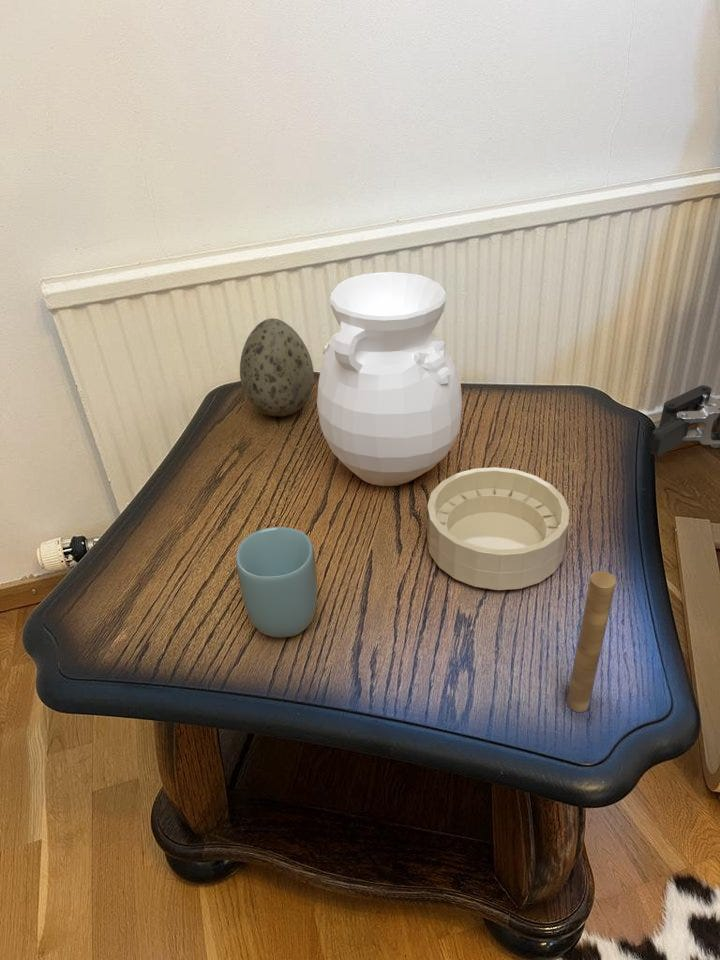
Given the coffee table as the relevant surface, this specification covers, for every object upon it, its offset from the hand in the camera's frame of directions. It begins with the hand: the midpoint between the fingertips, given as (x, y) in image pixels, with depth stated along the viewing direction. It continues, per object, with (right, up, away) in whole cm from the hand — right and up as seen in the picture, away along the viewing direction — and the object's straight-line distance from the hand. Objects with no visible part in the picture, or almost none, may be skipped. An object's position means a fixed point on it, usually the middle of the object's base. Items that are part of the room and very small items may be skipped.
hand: (699, 468), depth 63 cm
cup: (-36, -16, +18) cm, 43 cm away
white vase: (-24, +1, +40) cm, 47 cm away
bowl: (-12, -9, +26) cm, 30 cm away
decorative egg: (-40, +9, +53) cm, 67 cm away
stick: (-8, -22, +8) cm, 24 cm away
